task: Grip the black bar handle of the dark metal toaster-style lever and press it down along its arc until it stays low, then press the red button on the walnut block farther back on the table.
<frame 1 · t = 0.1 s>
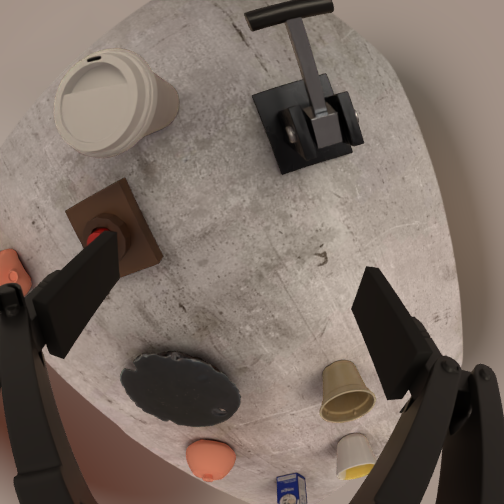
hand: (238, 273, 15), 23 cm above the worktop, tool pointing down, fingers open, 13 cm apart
flower pot: (338, 370, 50), on the worktop
teapot: (14, 269, 42), on the worktop
button block: (115, 230, 39), on the worktop
press lever: (309, 74, 19), point 13 cm above the worktop, hinge at 25.0°
sugar bowl: (211, 447, 63), on the worktop
mug: (352, 440, 62), on the worktop
lever bracket: (302, 122, 32), on the worktop
milk carton: (291, 477, 72), on the worktop
cancel button: (101, 243, 34), point 4 cm above the worktop, slide at 0.1 cm
board: (183, 376, 51), on the worktop
coffee cup: (154, 105, 32), on the worktop
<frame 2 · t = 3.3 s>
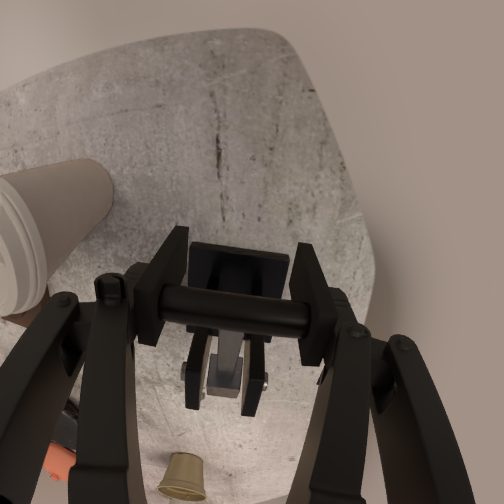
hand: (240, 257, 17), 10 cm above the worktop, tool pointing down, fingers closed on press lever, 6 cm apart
flower pot: (187, 457, 47), on the worktop
button block: (21, 281, 30), on the worktop
press lever: (227, 355, 16), point 13 cm above the worktop, hinge at 25.0°, touching gripper
sugar bowl: (65, 450, 54), on the worktop
mug: (187, 496, 60), on the worktop
lever bracket: (234, 293, 30), on the worktop
board: (54, 403, 42), on the worktop
coffee cup: (86, 190, 25), on the worktop
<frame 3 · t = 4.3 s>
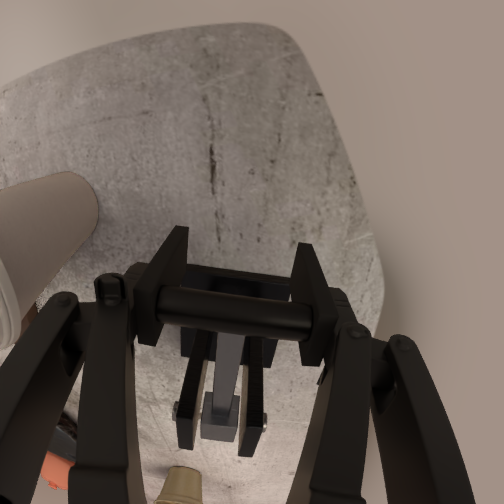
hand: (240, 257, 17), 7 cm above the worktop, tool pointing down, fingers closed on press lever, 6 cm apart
flower pot: (185, 470, 45), on the worktop
press lever: (224, 383, 15), point 12 cm above the worktop, hinge at 7.7°, touching gripper
sugar bowl: (62, 458, 52), on the worktop
lever bracket: (231, 317, 27), on the worktop
board: (49, 415, 40), on the worktop
coffee cup: (70, 206, 23), on the worktop
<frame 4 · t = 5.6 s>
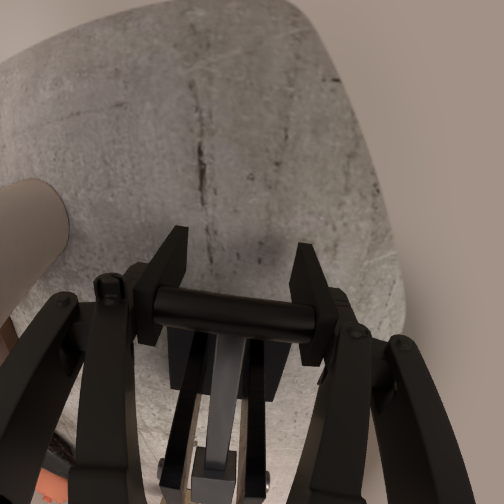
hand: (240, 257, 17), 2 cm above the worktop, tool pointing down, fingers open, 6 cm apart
flower pot: (182, 490, 40), on the worktop
press lever: (220, 420, 12), point 10 cm above the worktop, hinge at -17.4°
sugar bowl: (56, 472, 47), on the worktop
lever bracket: (227, 348, 23), on the worktop
board: (39, 432, 35), on the worktop
coffee cup: (39, 219, 18), on the worktop
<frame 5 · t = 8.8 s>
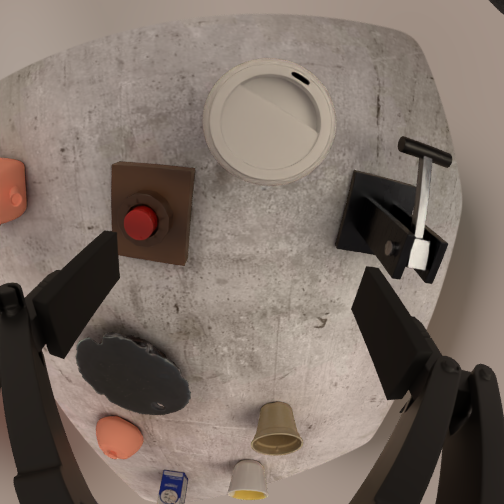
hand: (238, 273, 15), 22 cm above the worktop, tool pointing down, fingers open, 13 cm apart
flower pot: (276, 408, 53), on the worktop
teapot: (12, 183, 35), on the worktop
button block: (153, 210, 36), on the worktop
press lever: (421, 204, 25), point 10 cm above the worktop, hinge at -17.4°
sugar bowl: (121, 425, 61), on the worktop
mug: (248, 464, 67), on the worktop
lever bracket: (376, 215, 36), on the worktop
milk carton: (176, 474, 74), on the worktop
cancel button: (140, 222, 32), point 4 cm above the worktop, slide at 0.1 cm
board: (137, 362, 49), on the worktop
coffee cup: (266, 120, 32), on the worktop
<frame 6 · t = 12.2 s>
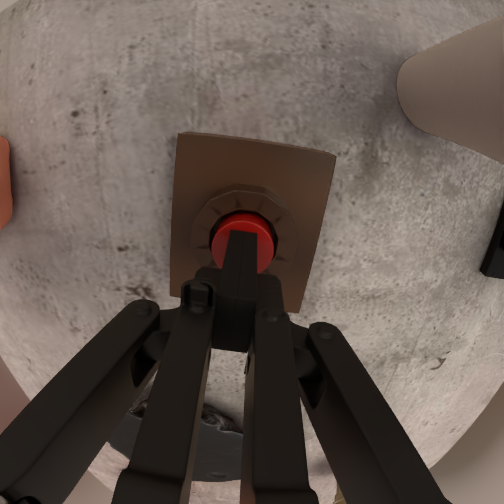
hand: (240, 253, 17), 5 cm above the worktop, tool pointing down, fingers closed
button block: (245, 221, 22), on the worktop
cancel button: (243, 244, 18), point 4 cm above the worktop, slide at -0.2 cm, touching gripper
board: (187, 425, 34), on the worktop
coffee cup: (430, 93, 17), on the worktop
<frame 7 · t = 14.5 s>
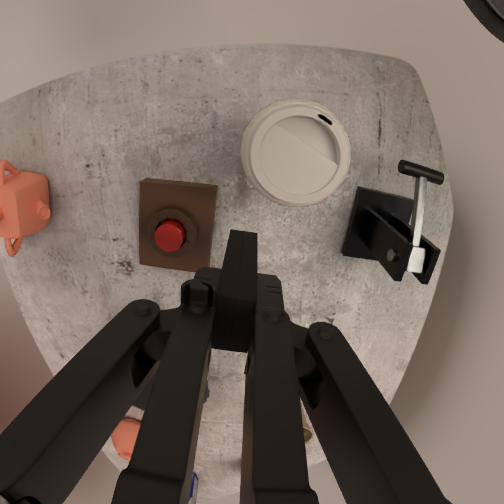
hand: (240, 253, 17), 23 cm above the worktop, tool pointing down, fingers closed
flower pot: (286, 404, 57), on the worktop
teapot: (33, 195, 38), on the worktop
button block: (177, 223, 41), on the worktop
press lever: (417, 217, 30), point 10 cm above the worktop, hinge at -17.4°
sugar bowl: (135, 427, 64), on the worktop
lever bracket: (377, 225, 41), on the worktop
milk carton: (186, 474, 76), on the worktop
cancel button: (169, 235, 37), point 4 cm above the worktop, slide at 0.1 cm
board: (156, 364, 52), on the worktop
coffee cup: (282, 142, 36), on the worktop
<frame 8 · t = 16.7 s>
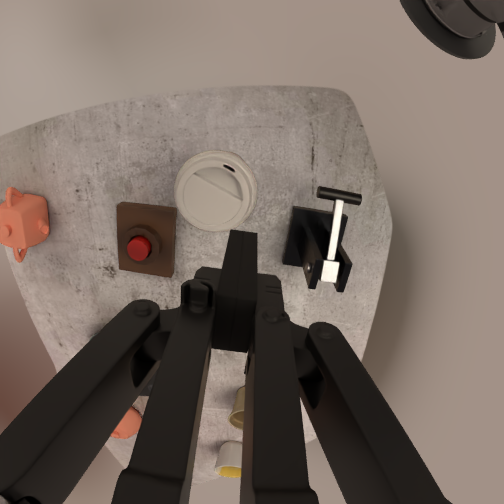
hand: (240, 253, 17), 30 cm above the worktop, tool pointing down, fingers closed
flower pot: (250, 392, 67), on the worktop
teapot: (35, 212, 48), on the worktop
button block: (147, 237, 50), on the worktop
press lever: (333, 235, 39), point 10 cm above the worktop, hinge at -17.4°
sugar bowl: (123, 410, 74), on the worktop
mug: (233, 446, 80), on the worktop
lever bracket: (314, 238, 49), on the worktop
cancel button: (139, 248, 46), point 4 cm above the worktop, slide at 0.1 cm
coffee cup: (226, 172, 45), on the worktop
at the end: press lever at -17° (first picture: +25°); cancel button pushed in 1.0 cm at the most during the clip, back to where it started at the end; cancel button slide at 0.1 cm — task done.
